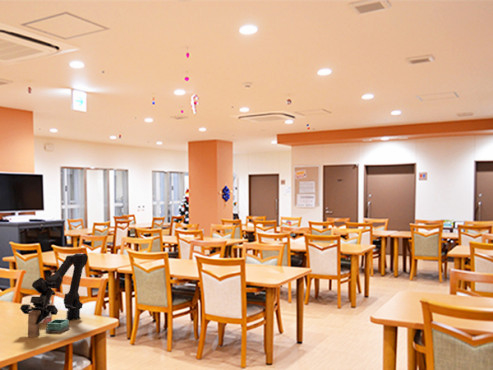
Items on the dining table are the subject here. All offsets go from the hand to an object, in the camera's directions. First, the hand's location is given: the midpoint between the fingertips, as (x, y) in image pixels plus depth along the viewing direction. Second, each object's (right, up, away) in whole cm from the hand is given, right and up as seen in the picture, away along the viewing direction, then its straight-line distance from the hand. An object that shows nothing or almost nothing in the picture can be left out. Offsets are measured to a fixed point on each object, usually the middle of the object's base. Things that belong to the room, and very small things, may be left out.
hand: (32, 323), depth 221 cm
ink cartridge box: (-7, -8, +27) cm, 29 cm away
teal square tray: (+8, -7, +12) cm, 16 cm away
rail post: (0, -7, +1) cm, 7 cm away
